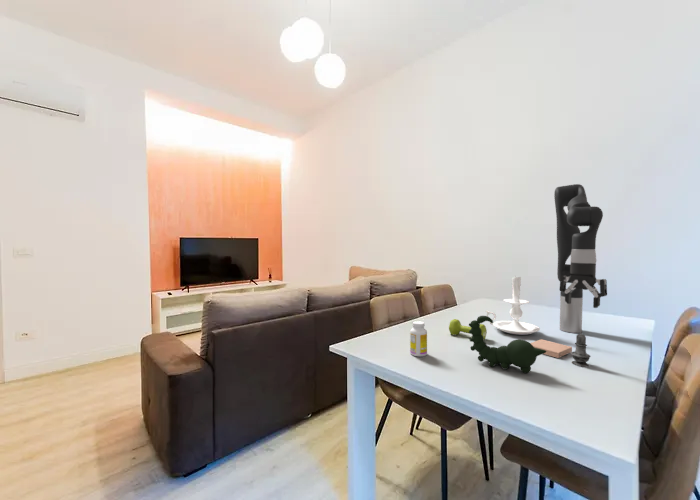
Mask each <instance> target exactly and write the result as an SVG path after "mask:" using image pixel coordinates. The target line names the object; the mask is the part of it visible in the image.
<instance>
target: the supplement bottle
mask: <svg viewBox="0 0 700 500" xmlns="http://www.w3.org/2000/svg"><path fill="white" fill-rule="evenodd" d="M409 334H410V335H409V343H410V344H409V345H410V346H409V349H410V350H409V353H410V354H411V355H412V356H413V357H414V356H415V357H422V358H423V357H425V356H427V354H428V331H427V329H426V328H425V322H424V321H420V320H419V321H412V328H411V329H410V330H409Z"/></svg>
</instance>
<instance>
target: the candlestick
mask: <svg viewBox="0 0 700 500" xmlns="http://www.w3.org/2000/svg"><path fill="white" fill-rule="evenodd" d="M521 280H522V277H521V276H519V277H518V276H516V275H514V277H511V281H512V282H511V285H512V286H511V287H512V294H511V295H512V296H511V297H512V298H505V299H503V302H506V303H509V304H510V305H511V308H510V310H509V315H510V317H511V318H512V319H513V320H498V321H497V320H496V318H497V316H496V314H495V312H493V311H489V310H485V312H486V316H488V317H489V314H492V315H493V318H491V319H492V321H493V323H491V322H489V324H490V325H492V326H494V327H495V328H497V329H498V330H500V331H502V332H504V333H507V334H511V335H518V336H519V335H520V336H521V335H523V336H524V335H531V334H534V333H536V332H539V331H540V330H541V328H540V327H539V326H537V325H535V324H532V323H528V322H523V321H519V320H520V319H521V318H522V317H523V314H524V313H523V310H522V308H521V305H526V304H529V303H530V301H528V300H526V299H521V298H520V297H521V296H520V295H521V285H522V284H521V282H522V281H521ZM495 320H496V321H495Z"/></svg>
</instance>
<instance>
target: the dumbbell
mask: <svg viewBox="0 0 700 500" xmlns="http://www.w3.org/2000/svg"><path fill="white" fill-rule="evenodd" d="M448 325H449V326H448V330H449V334H450V335H452V336H457V335H459V334H460V333H465V334H468V335H469V334H470V335H472V334H471V333H469V330H471V327H470V326H469V325H467V326H466V325H462V323H461V321H460V320H459V319H457V318H453V319H452V320H450V322H449V324H448ZM480 328H481V331H482V333H481V335H482V336H483V338H484V340H485V339H486V337H487V330H488V329H487V327H486V325H485V324H483V323H480Z"/></svg>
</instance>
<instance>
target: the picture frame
mask: <svg viewBox="0 0 700 500" xmlns="http://www.w3.org/2000/svg"><path fill="white" fill-rule="evenodd" d="M529 343H530V344H532V345H533V347H535V348H538V349H542V350H546V353H543V354H542V355H545V356H549V357H554V358H557V359H559V358H562V357H564V356H566V355H568V354H571V352H573V347H572V346H569V345H565V344H562V343H558V342H554V341H549V340H545V339H542V338H541V339H539V340H538V339H537V340H534V341H533V342H529Z"/></svg>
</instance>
